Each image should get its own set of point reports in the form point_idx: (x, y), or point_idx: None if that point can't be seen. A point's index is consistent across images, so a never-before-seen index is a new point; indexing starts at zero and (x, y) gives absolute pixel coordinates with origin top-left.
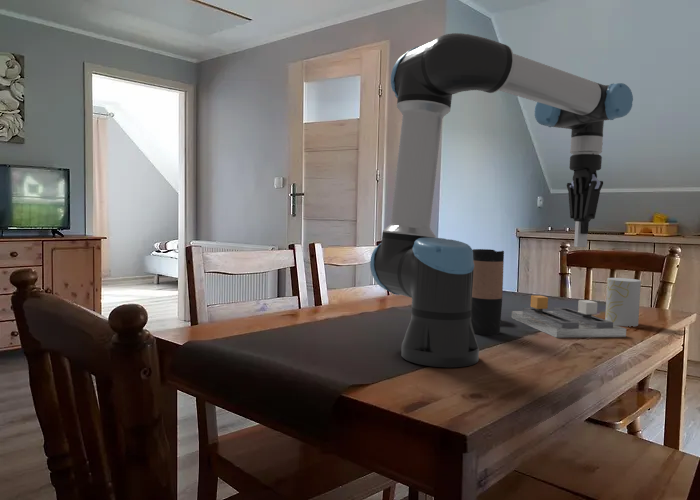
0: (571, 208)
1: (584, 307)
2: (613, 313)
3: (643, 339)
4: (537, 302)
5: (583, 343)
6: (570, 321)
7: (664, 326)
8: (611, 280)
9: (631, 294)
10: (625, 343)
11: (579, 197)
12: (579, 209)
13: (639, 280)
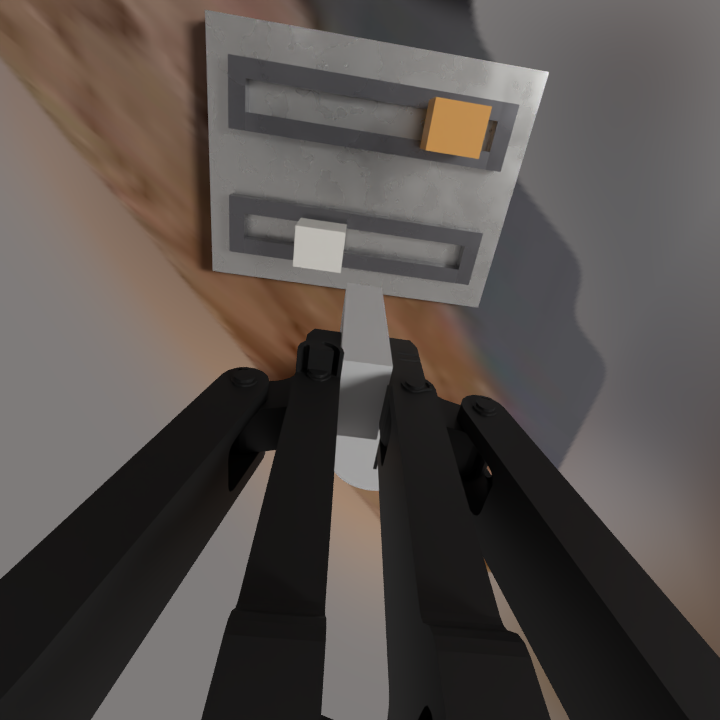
0: (516, 464)
1: (308, 222)
2: None
3: (191, 288)
4: (432, 99)
5: (136, 59)
6: (253, 113)
7: None
8: None
9: None
10: (143, 201)
11: (406, 596)
12: (393, 468)
13: (351, 482)
